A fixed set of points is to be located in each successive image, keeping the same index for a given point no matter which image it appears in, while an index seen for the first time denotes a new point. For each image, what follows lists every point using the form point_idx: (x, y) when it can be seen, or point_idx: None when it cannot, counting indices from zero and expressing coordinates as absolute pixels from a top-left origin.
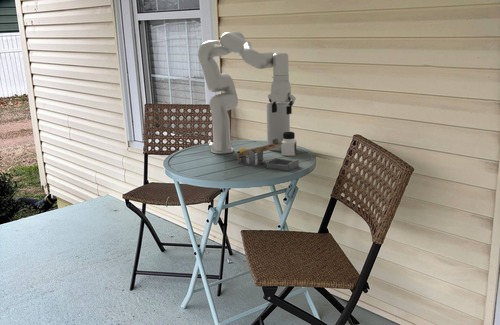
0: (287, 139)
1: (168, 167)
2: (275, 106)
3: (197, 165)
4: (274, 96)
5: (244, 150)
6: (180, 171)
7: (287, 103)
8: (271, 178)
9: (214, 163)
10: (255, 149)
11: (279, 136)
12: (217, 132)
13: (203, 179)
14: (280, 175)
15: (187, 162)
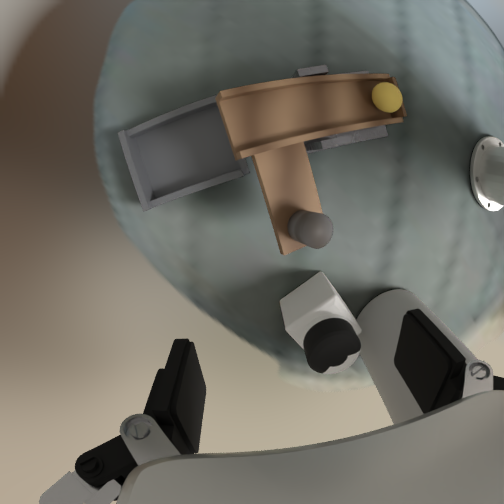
0: (318, 321)
1: None
2: (423, 386)
3: (417, 4)
4: (479, 486)
5: (375, 91)
6: None
7: (146, 453)
8: (117, 45)
9: (408, 38)
10: (300, 77)
11: (387, 335)
12: None
13: None
14: (117, 83)
15: (456, 21)
